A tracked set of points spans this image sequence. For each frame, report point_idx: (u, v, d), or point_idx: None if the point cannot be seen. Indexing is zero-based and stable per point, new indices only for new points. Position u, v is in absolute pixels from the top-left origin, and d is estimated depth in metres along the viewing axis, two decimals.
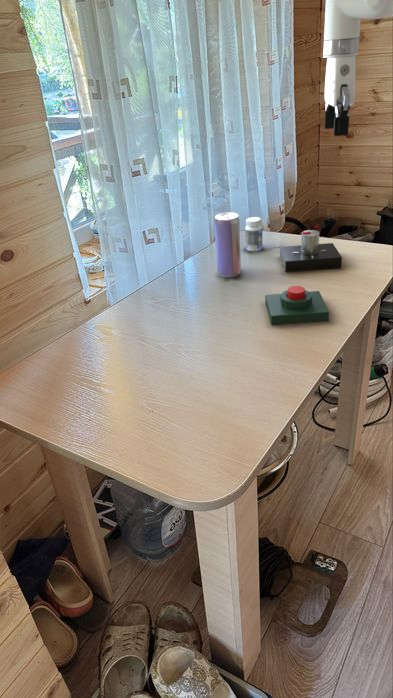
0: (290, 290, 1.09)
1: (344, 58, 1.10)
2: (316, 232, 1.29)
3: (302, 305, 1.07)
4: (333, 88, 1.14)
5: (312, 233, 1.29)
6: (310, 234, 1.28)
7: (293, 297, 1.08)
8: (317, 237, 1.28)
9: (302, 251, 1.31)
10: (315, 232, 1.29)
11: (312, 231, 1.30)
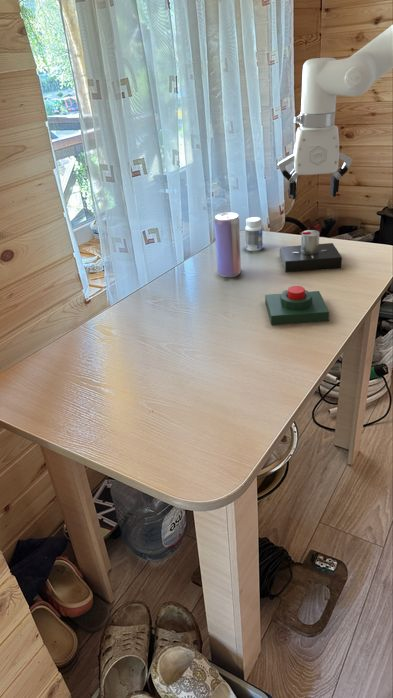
0: (290, 290, 1.09)
1: (297, 129, 1.17)
2: (316, 232, 1.29)
3: (302, 305, 1.07)
4: None
5: (312, 233, 1.29)
6: (310, 234, 1.28)
7: (293, 297, 1.08)
8: (317, 237, 1.28)
9: (302, 251, 1.31)
10: (315, 232, 1.29)
11: (312, 231, 1.30)
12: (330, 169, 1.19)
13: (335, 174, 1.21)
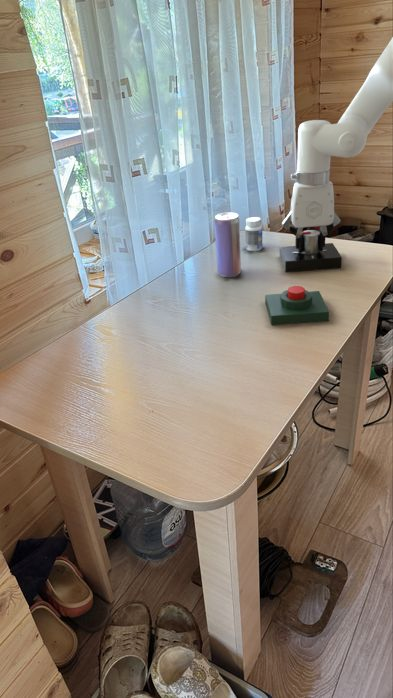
0: (290, 290, 1.09)
1: (294, 185, 1.23)
2: (316, 232, 1.29)
3: (302, 305, 1.07)
4: None
5: (312, 233, 1.29)
6: (310, 234, 1.28)
7: (293, 297, 1.08)
8: (317, 237, 1.28)
9: (302, 251, 1.31)
10: (315, 232, 1.29)
11: (312, 231, 1.30)
12: (325, 221, 1.25)
13: (323, 230, 1.27)
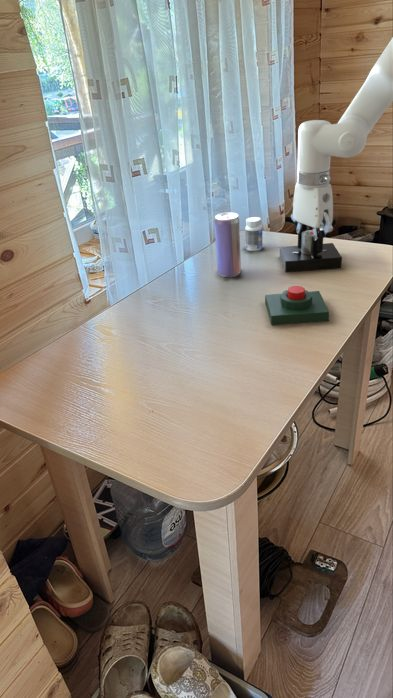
0: (290, 290, 1.09)
1: (325, 188, 1.19)
2: (306, 231, 1.30)
3: (302, 305, 1.07)
4: (316, 213, 1.22)
5: (311, 231, 1.30)
6: None
7: (293, 297, 1.08)
8: None
9: None
10: (307, 231, 1.30)
11: (306, 233, 1.29)
12: None
13: None
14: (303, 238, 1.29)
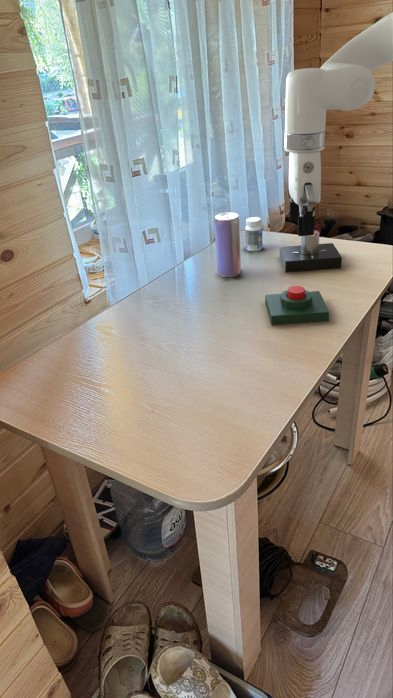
0: (290, 290, 1.09)
1: (307, 155, 0.96)
2: None
3: (302, 305, 1.07)
4: (296, 186, 1.00)
5: None
6: (314, 232, 1.29)
7: (293, 297, 1.08)
8: None
9: (317, 252, 1.30)
10: None
11: None
12: None
13: None
14: (303, 238, 1.29)
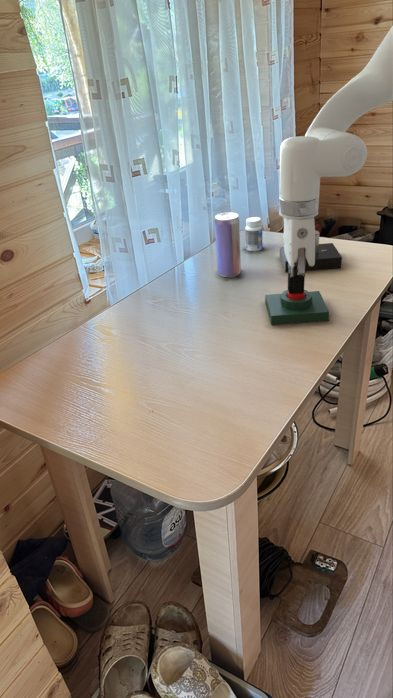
0: None
1: (301, 221, 0.96)
2: None
3: (302, 305, 1.07)
4: (290, 250, 1.00)
5: None
6: None
7: (293, 299, 1.08)
8: None
9: (317, 252, 1.30)
10: None
11: None
12: None
13: None
14: None
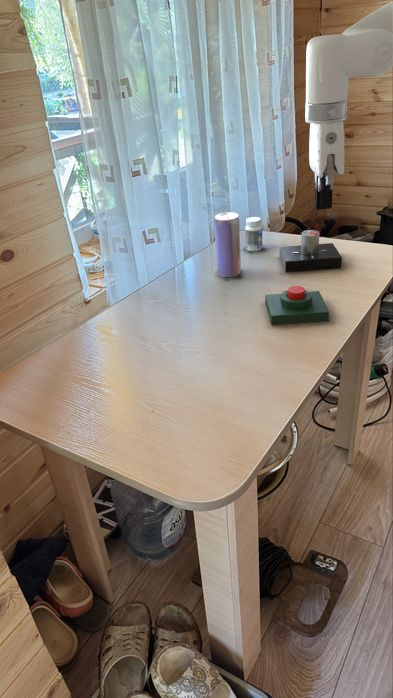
0: (290, 290, 1.09)
1: (330, 125, 0.94)
2: (306, 231, 1.30)
3: (302, 305, 1.07)
4: (318, 158, 0.97)
5: (311, 231, 1.30)
6: (314, 232, 1.29)
7: (293, 297, 1.08)
8: None
9: (317, 252, 1.30)
10: (307, 231, 1.30)
11: (306, 233, 1.29)
12: None
13: None
14: (303, 238, 1.29)
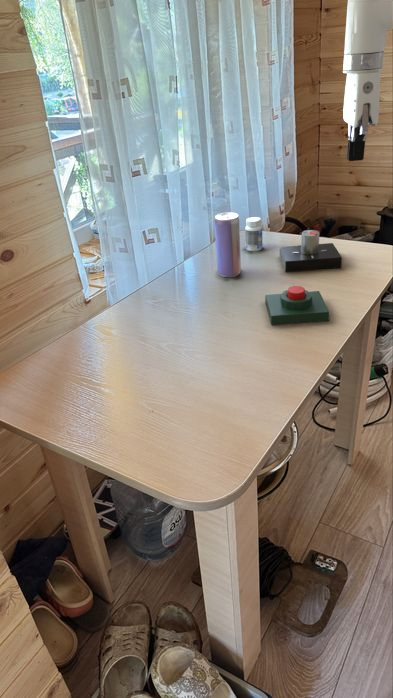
0: (290, 290, 1.09)
1: (367, 74, 0.99)
2: (306, 231, 1.30)
3: (302, 305, 1.07)
4: (354, 107, 1.02)
5: (311, 231, 1.30)
6: (314, 232, 1.29)
7: (293, 297, 1.08)
8: None
9: (317, 252, 1.30)
10: (307, 231, 1.30)
11: (306, 233, 1.29)
12: None
13: None
14: (303, 238, 1.29)
